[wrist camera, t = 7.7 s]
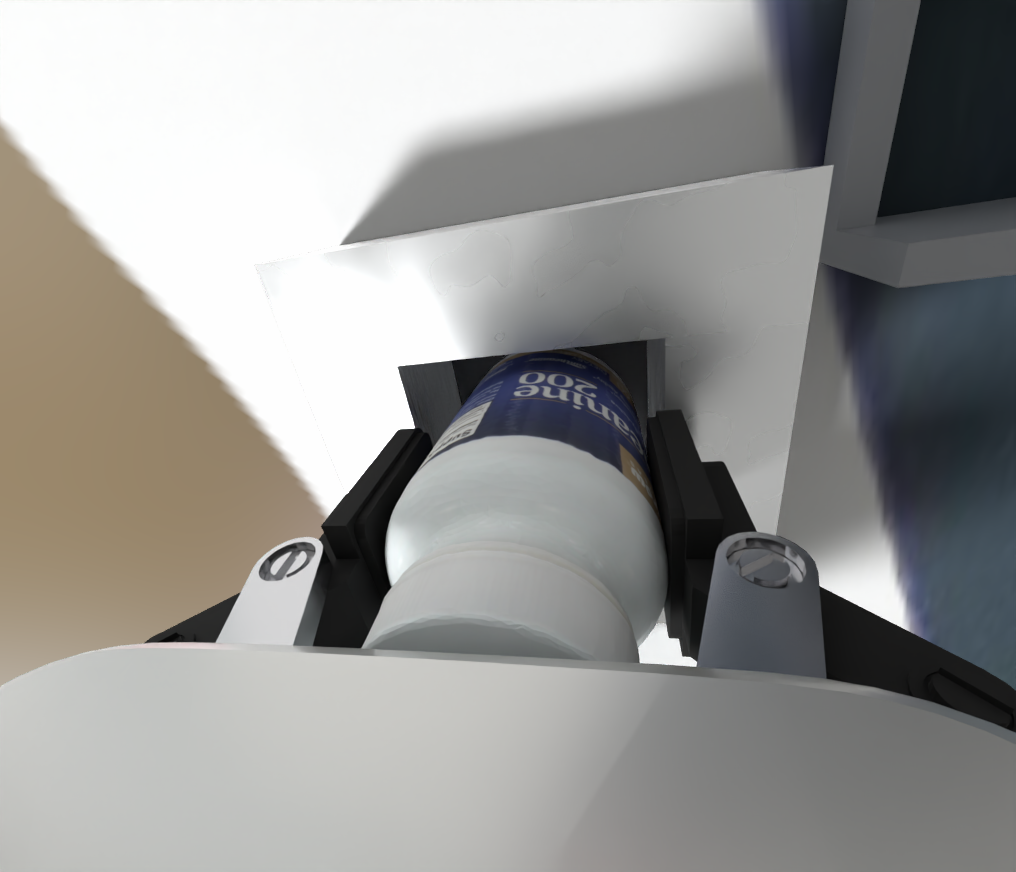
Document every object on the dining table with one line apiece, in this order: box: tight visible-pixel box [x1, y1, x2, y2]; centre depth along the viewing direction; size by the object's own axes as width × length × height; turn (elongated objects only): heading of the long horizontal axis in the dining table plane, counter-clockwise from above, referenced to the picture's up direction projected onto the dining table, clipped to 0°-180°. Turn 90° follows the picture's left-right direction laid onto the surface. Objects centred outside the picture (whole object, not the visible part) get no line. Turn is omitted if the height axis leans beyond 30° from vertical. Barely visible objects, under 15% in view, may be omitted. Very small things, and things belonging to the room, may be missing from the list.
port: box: [255, 165, 834, 623], centre depth 13 cm, size 12×12×5 cm
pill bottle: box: [361, 348, 668, 663], centre depth 10 cm, size 5×5×10 cm
